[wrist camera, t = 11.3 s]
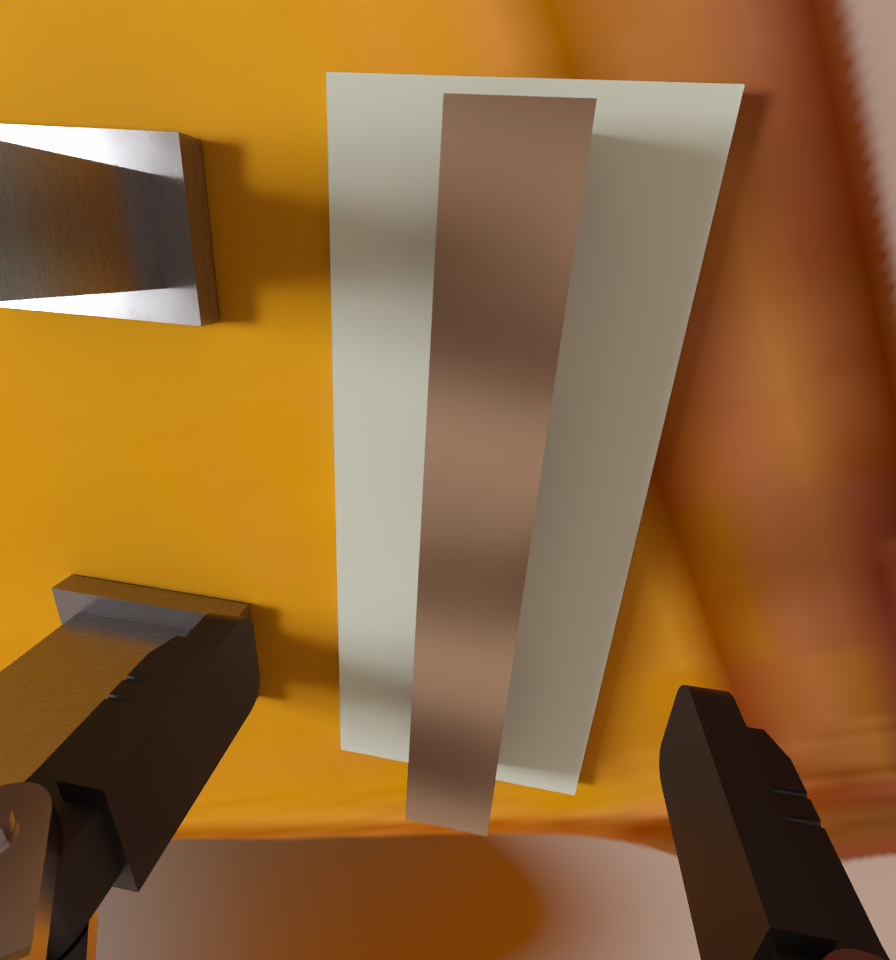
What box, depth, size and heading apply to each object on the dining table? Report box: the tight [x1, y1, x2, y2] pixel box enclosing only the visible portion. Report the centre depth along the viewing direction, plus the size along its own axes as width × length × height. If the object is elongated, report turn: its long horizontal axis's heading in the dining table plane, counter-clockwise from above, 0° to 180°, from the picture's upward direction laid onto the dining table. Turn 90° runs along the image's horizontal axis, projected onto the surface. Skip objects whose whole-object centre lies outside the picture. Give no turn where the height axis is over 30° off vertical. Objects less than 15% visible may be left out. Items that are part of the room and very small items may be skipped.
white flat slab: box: [326, 72, 745, 795], centre depth 18 cm, size 24×10×1 cm, turn 177°
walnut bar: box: [406, 93, 597, 836], centre depth 16 cm, size 22×3×3 cm, turn 176°
